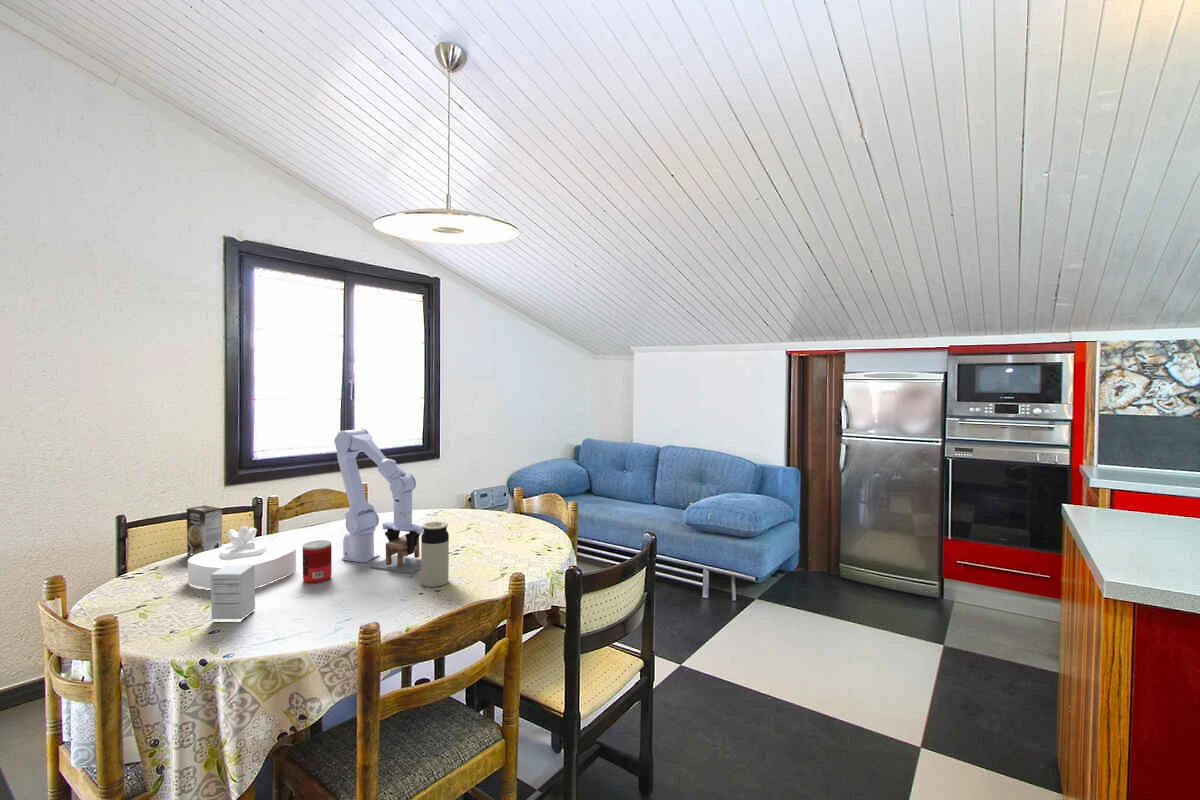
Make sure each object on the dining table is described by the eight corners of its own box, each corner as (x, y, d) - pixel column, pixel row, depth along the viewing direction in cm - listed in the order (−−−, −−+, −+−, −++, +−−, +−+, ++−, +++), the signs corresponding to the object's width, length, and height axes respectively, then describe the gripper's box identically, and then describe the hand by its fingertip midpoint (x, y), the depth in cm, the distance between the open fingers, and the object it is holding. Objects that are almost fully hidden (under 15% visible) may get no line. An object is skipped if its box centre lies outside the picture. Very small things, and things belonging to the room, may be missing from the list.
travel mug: (424, 589, 171) (424, 529, 171) (419, 580, 178) (419, 522, 178) (451, 585, 175) (451, 526, 174) (445, 576, 182) (445, 520, 181)
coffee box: (186, 555, 198) (185, 508, 197) (205, 550, 204) (204, 504, 203) (204, 559, 195) (203, 511, 194) (223, 553, 201) (222, 507, 200)
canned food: (337, 576, 181) (337, 541, 180) (316, 585, 173) (316, 549, 173) (317, 573, 183) (317, 538, 183) (296, 582, 176) (296, 546, 175)
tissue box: (174, 585, 172) (173, 531, 171) (248, 560, 195) (248, 512, 195) (238, 597, 164) (237, 540, 163) (308, 569, 188) (307, 519, 187)
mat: (370, 567, 189) (370, 566, 189) (394, 556, 200) (394, 555, 200) (412, 574, 184) (412, 572, 184) (434, 562, 195) (434, 560, 195)
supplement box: (226, 611, 154) (226, 564, 153) (256, 611, 154) (255, 564, 154) (210, 623, 146) (209, 574, 146) (241, 623, 147) (240, 573, 146)
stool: (405, 555, 198) (405, 534, 197) (419, 556, 196) (419, 536, 196) (386, 564, 188) (385, 543, 188) (400, 566, 187) (400, 545, 186)
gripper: (376, 512, 190) (376, 553, 190) (414, 516, 185) (414, 558, 186) (390, 507, 196) (390, 547, 197) (427, 511, 192) (427, 552, 193)
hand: (402, 552), depth 192 cm, fingers closed on stool, 6 cm apart
